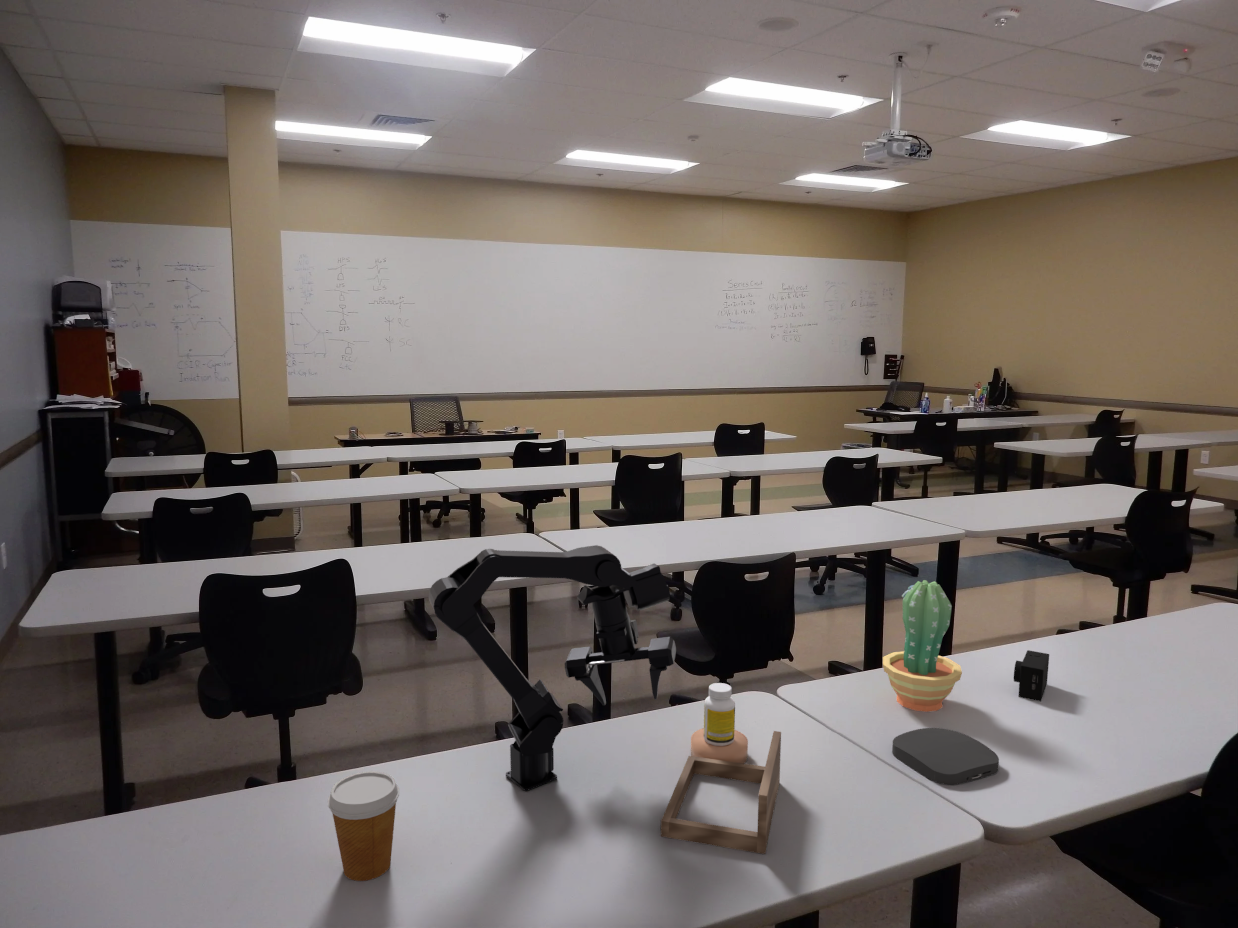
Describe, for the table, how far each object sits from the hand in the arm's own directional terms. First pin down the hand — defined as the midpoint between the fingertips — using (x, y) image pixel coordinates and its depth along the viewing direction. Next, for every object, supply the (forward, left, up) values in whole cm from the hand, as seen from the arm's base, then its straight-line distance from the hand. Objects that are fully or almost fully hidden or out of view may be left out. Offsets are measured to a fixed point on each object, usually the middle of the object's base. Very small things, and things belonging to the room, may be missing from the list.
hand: (630, 700), depth 145 cm
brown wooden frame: (+2, -21, -11) cm, 24 cm away
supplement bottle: (+13, -9, -8) cm, 18 cm away
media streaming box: (+43, -34, -11) cm, 56 cm away
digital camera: (+85, -29, -11) cm, 91 cm away
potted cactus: (+61, -18, -11) cm, 65 cm away
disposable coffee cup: (-48, 0, -11) cm, 49 cm away
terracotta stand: (+13, -9, -11) cm, 19 cm away
